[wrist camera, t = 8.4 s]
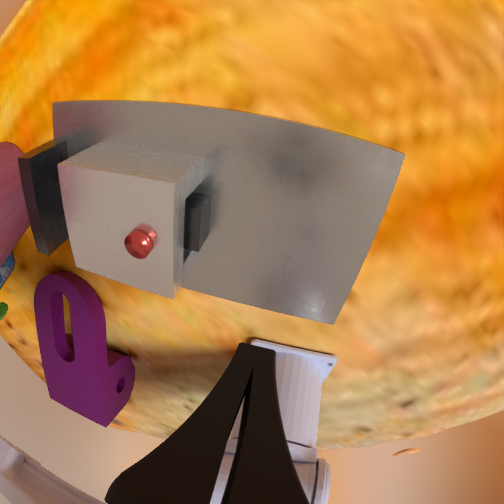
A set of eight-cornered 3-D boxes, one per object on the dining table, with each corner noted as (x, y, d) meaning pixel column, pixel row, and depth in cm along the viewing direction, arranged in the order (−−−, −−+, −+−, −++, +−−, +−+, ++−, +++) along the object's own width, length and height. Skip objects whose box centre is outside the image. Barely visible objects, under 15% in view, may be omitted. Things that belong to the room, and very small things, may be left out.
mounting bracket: (77, 254, 34) (83, 370, 37) (31, 266, 25) (50, 397, 28) (136, 269, 32) (136, 392, 36) (93, 287, 24) (106, 427, 27)
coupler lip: (333, 321, 23) (332, 365, 19) (74, 251, 24) (47, 279, 21) (403, 153, 15) (428, 179, 11) (55, 101, 16) (13, 116, 13)
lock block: (195, 260, 22) (170, 306, 18) (105, 236, 22) (71, 271, 18) (203, 157, 17) (168, 188, 13) (97, 143, 17) (50, 168, 14)
